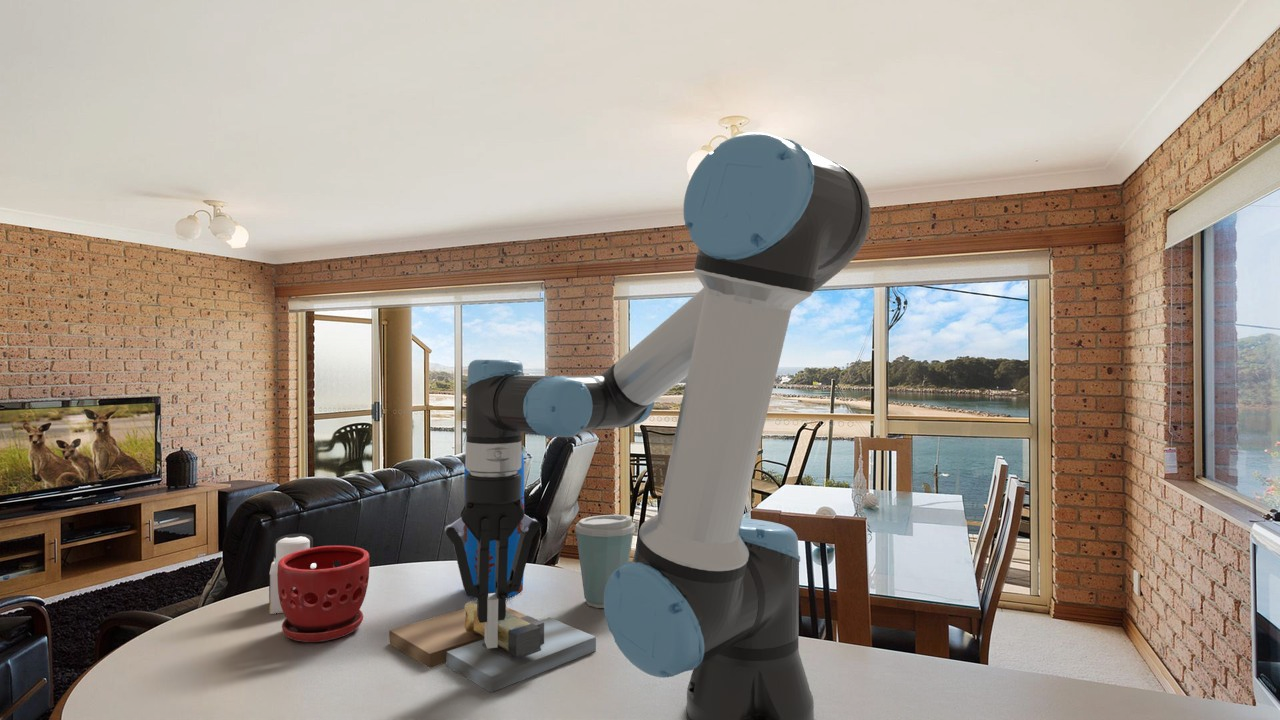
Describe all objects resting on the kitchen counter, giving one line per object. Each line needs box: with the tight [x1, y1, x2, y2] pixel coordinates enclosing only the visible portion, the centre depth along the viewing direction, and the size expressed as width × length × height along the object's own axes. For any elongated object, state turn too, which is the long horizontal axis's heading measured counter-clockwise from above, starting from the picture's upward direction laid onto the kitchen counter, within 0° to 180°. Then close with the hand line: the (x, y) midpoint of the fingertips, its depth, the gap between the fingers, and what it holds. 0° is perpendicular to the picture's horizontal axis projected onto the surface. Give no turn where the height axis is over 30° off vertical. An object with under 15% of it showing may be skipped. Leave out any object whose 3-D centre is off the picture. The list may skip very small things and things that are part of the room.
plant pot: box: [277, 545, 370, 643], centre depth 109 cm, size 13×13×12 cm
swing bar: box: [464, 599, 540, 657], centre depth 99 cm, size 15×4×3 cm, turn 42°
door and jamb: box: [388, 606, 597, 693], centre depth 103 cm, size 24×20×5 cm
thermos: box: [463, 452, 525, 599], centre depth 129 cm, size 11×11×25 cm
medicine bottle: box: [268, 533, 317, 615], centre depth 121 cm, size 7×7×12 cm
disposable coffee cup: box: [574, 514, 636, 609], centre depth 122 cm, size 11×11×15 cm
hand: (490, 643), depth 95 cm, fingers closed
